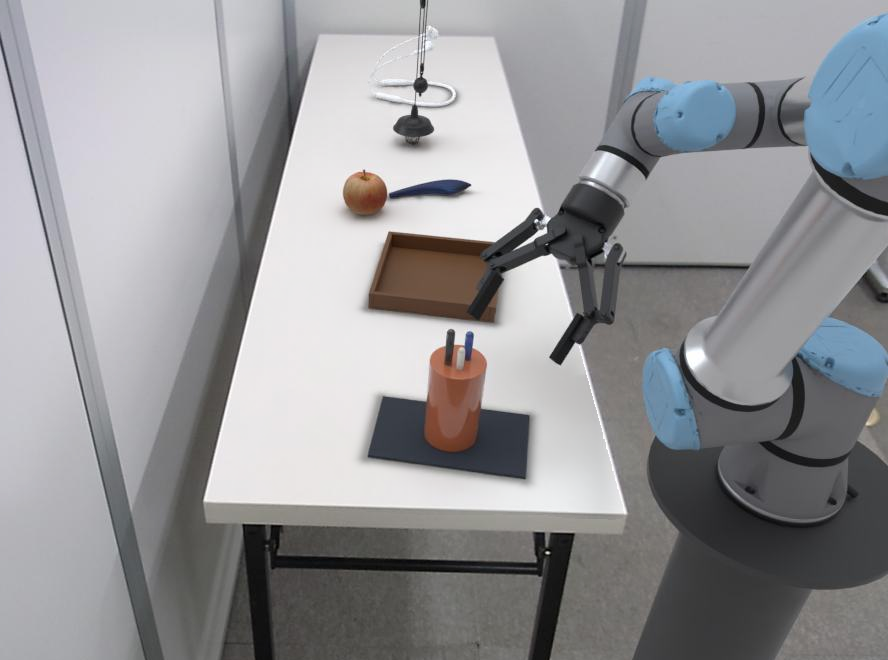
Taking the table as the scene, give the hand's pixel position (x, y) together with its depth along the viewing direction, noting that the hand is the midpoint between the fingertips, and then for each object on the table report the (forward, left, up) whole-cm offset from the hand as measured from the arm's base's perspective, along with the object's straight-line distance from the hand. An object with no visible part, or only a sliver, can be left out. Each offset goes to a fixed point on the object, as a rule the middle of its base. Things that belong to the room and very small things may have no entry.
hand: (512, 338), depth 117 cm
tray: (+12, -28, -11) cm, 33 cm away
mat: (+6, +9, -11) cm, 15 cm away
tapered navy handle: (+17, -58, -11) cm, 62 cm away
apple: (+28, -49, -11) cm, 58 cm away
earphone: (+27, -106, -11) cm, 110 cm away
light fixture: (+23, -79, -11) cm, 83 cm away
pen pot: (+6, +8, -10) cm, 15 cm away
